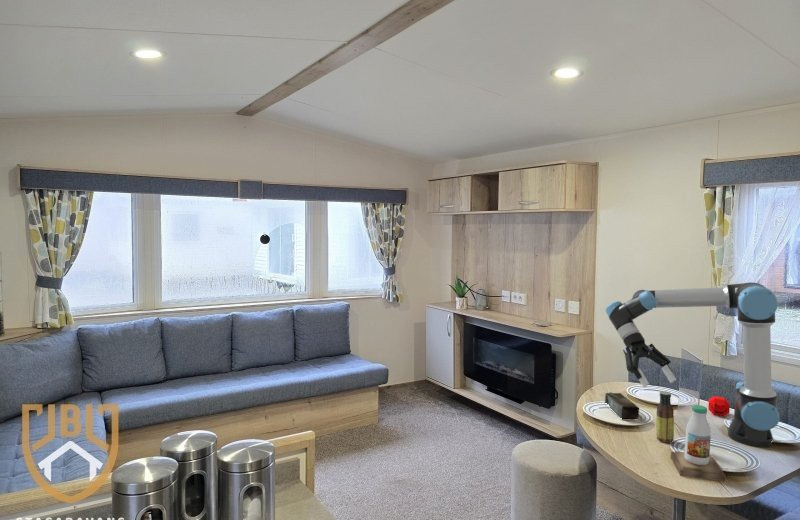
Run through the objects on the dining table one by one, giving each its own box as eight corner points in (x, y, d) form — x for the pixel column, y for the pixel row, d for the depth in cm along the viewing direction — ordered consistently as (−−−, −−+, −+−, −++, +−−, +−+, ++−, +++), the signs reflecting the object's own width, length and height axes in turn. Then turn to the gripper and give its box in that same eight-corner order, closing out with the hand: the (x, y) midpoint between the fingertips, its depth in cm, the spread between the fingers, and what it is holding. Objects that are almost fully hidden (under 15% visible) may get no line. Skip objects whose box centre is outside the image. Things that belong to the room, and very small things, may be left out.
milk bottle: (679, 457, 187) (682, 404, 185) (695, 454, 190) (698, 401, 188) (698, 467, 180) (701, 412, 178) (714, 463, 182) (717, 409, 181)
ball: (708, 415, 233) (709, 399, 232) (707, 409, 240) (708, 393, 239) (729, 419, 229) (730, 402, 228) (728, 413, 236) (729, 396, 235)
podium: (712, 462, 190) (712, 454, 190) (725, 481, 176) (725, 472, 176) (670, 457, 194) (670, 449, 193) (680, 475, 180) (680, 467, 180)
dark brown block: (620, 404, 247) (621, 391, 246) (639, 421, 227) (640, 406, 227) (604, 404, 247) (604, 391, 246) (621, 421, 227) (622, 406, 227)
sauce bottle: (671, 438, 210) (673, 390, 208) (675, 444, 204) (677, 396, 202) (653, 436, 212) (656, 389, 210) (657, 442, 206) (659, 394, 204)
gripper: (649, 338, 217) (678, 384, 204) (602, 344, 208) (629, 392, 195) (660, 328, 211) (690, 375, 199) (611, 334, 203) (640, 383, 190)
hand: (660, 383), depth 197 cm, fingers open, 13 cm apart
